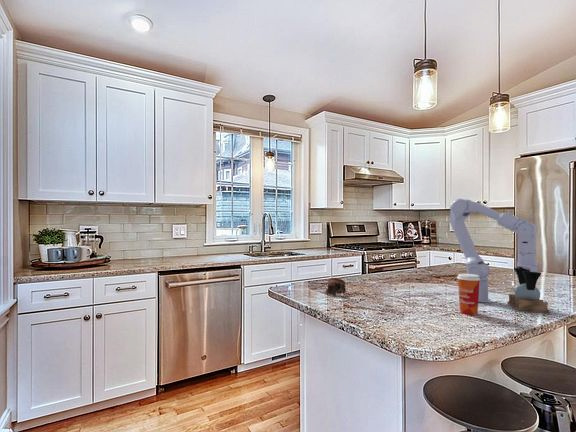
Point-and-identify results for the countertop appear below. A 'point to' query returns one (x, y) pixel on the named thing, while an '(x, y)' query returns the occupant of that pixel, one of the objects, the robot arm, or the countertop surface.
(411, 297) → the countertop surface
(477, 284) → the paper cup
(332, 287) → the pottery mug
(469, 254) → the robot arm
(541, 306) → the rack
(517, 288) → the grey rounded disc
